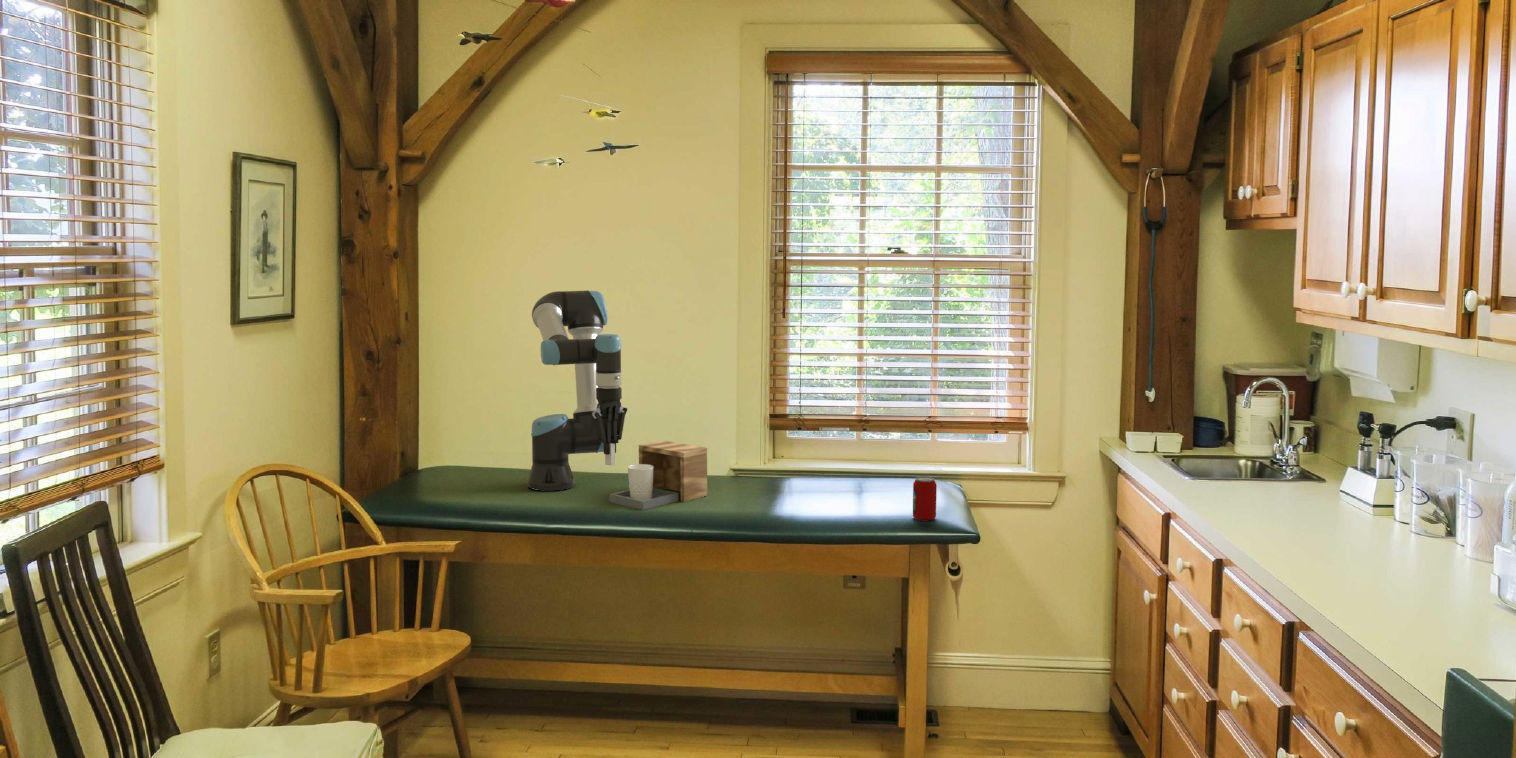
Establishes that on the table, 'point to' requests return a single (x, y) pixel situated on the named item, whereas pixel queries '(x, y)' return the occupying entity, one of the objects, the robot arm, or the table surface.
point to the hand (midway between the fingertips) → (610, 464)
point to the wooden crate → (677, 467)
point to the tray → (657, 499)
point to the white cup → (640, 481)
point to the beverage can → (924, 498)
